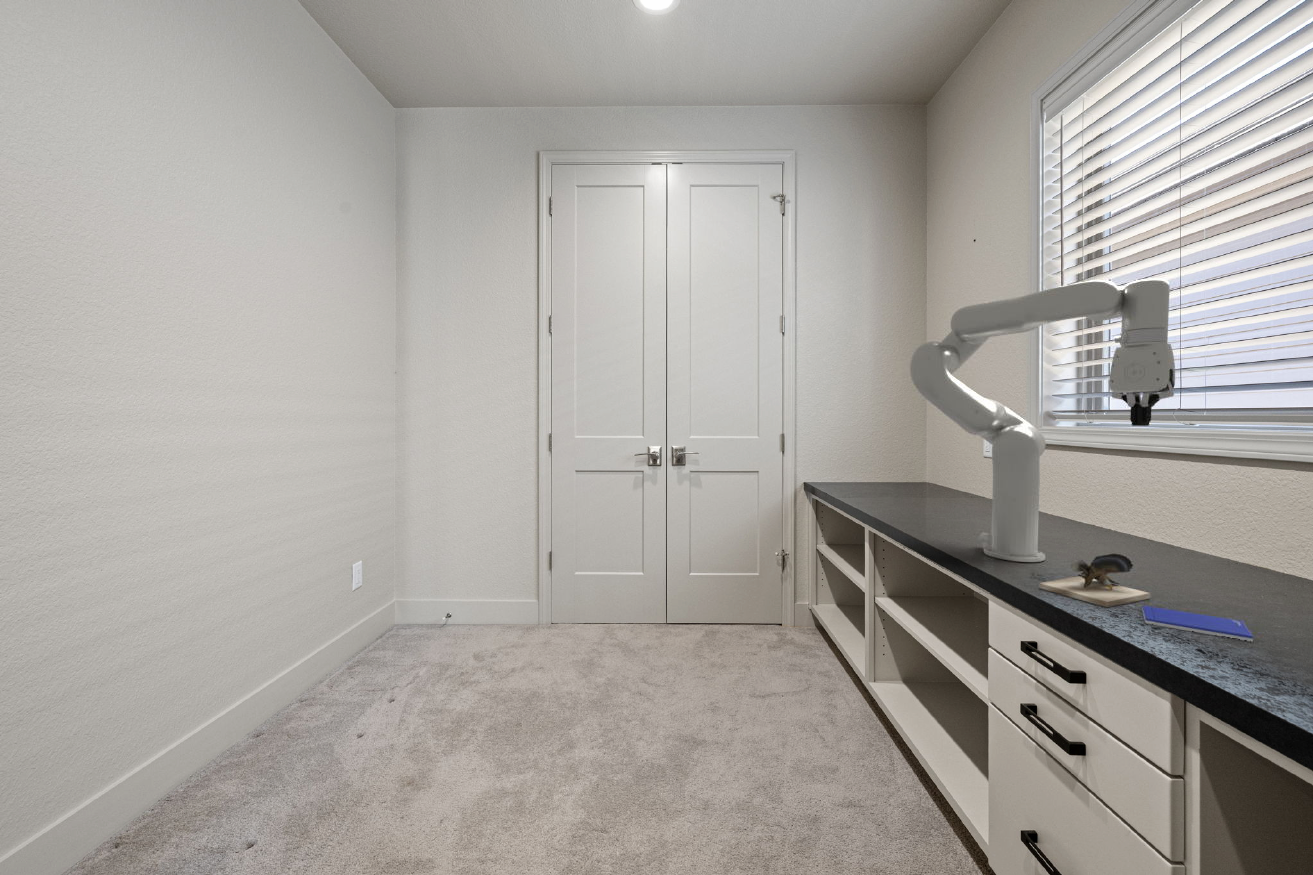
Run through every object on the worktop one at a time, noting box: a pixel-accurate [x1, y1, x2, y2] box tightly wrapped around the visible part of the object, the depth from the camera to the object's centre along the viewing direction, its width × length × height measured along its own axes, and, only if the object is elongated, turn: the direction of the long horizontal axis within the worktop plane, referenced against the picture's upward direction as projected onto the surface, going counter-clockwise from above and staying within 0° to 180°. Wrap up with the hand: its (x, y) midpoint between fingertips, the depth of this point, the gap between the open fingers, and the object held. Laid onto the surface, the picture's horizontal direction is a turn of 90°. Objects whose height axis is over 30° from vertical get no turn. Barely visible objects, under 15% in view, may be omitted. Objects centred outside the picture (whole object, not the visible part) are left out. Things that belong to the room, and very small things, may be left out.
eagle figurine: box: [1069, 553, 1134, 590], centre depth 110 cm, size 8×7×9 cm
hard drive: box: [1141, 605, 1254, 643], centre depth 93 cm, size 2×8×12 cm
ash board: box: [1038, 575, 1151, 608], centre depth 109 cm, size 12×13×1 cm
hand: (1140, 425), depth 121 cm, fingers closed
